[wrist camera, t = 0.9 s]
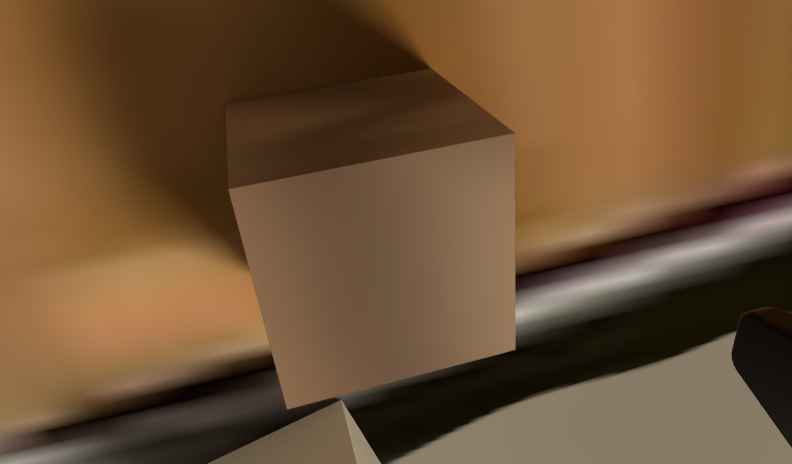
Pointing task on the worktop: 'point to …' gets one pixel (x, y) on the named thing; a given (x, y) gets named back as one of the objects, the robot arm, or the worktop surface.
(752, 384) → the robot arm
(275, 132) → the walnut cube
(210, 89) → the worktop surface
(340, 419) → the offwhite cube
